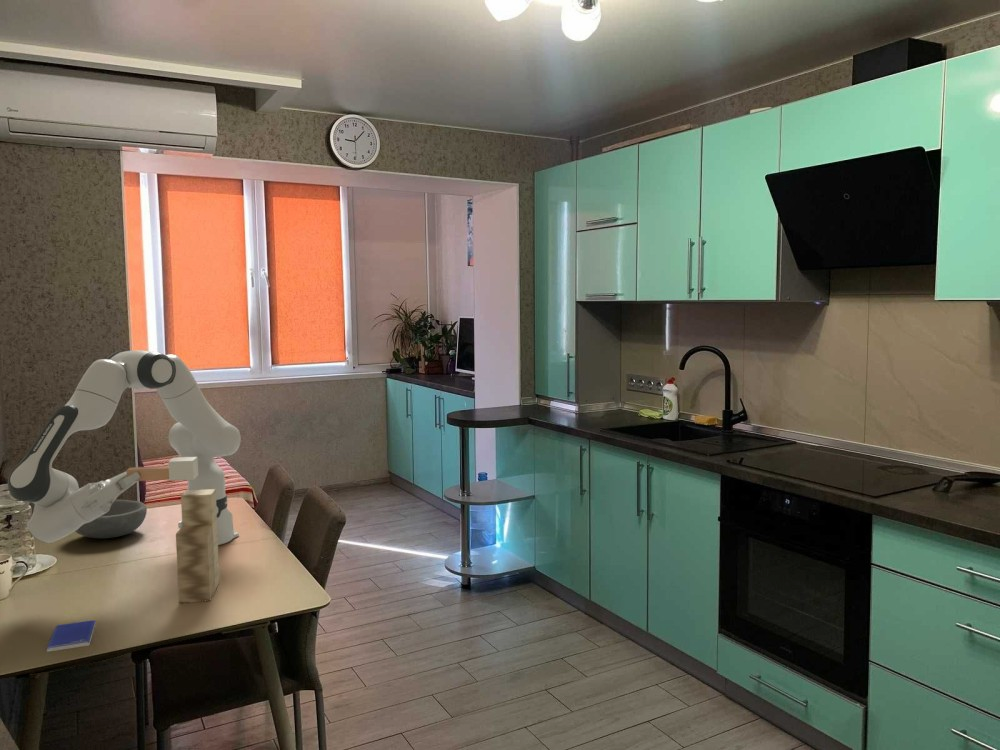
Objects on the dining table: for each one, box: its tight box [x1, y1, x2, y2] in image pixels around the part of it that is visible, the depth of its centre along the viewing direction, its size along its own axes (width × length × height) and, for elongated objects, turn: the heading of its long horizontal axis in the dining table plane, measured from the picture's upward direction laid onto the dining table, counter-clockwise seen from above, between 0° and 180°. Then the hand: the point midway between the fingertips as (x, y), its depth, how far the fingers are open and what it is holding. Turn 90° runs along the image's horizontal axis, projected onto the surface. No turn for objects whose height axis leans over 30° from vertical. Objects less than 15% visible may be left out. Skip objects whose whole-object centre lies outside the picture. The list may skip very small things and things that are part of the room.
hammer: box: [126, 456, 198, 482], centre depth 195 cm, size 16×6×5 cm, turn 101°
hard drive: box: [46, 619, 96, 653], centre depth 170 cm, size 2×8×12 cm
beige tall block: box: [175, 489, 220, 604], centre depth 195 cm, size 8×13×26 cm, turn 11°
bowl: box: [74, 499, 148, 539], centre depth 246 cm, size 23×22×10 cm
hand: (141, 472), depth 194 cm, fingers closed on hammer, 3 cm apart
